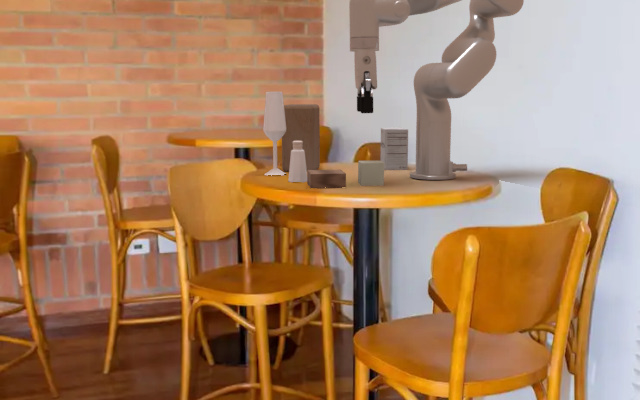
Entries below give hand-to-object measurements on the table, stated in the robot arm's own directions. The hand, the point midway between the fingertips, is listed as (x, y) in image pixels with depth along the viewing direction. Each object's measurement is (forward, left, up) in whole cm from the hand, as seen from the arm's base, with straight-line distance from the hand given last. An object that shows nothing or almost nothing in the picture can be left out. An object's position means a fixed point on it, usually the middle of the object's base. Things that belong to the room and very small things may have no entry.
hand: (364, 112), depth 186 cm
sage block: (-2, +1, -19) cm, 19 cm away
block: (+15, -32, -19) cm, 40 cm away
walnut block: (+10, +3, -19) cm, 22 cm away
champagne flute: (+23, -22, -19) cm, 37 cm away
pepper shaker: (+17, -6, -19) cm, 27 cm away
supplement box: (-14, -33, -19) cm, 41 cm away
